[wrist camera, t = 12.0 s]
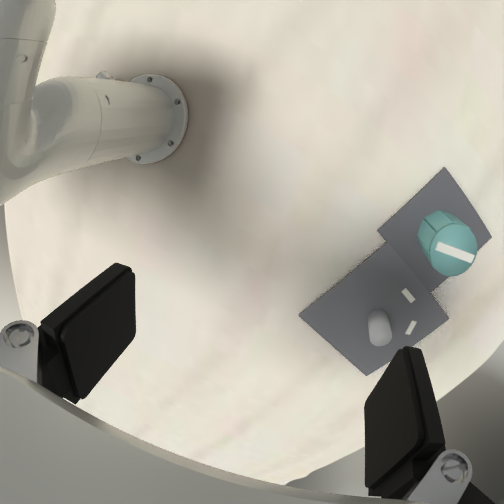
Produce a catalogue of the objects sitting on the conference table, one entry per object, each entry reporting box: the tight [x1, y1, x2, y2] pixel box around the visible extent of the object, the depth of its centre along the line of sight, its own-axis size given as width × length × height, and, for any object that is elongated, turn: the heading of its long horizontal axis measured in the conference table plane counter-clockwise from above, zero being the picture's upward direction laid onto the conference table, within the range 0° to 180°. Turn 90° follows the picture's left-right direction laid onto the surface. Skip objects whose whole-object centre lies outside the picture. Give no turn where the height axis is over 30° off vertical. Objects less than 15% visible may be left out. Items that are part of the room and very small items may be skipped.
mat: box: [377, 167, 492, 293], centre depth 35 cm, size 12×12×1 cm
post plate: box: [299, 242, 449, 376], centre depth 39 cm, size 16×16×5 cm
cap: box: [417, 210, 477, 276], centre depth 32 cm, size 6×6×6 cm
